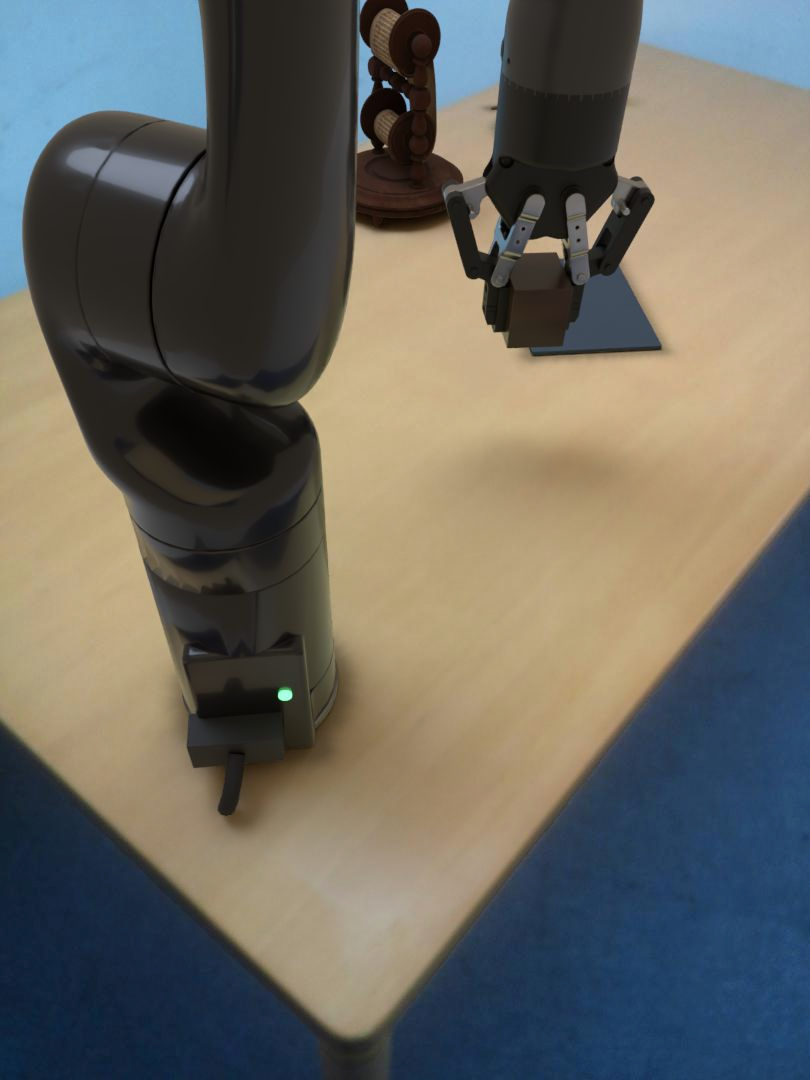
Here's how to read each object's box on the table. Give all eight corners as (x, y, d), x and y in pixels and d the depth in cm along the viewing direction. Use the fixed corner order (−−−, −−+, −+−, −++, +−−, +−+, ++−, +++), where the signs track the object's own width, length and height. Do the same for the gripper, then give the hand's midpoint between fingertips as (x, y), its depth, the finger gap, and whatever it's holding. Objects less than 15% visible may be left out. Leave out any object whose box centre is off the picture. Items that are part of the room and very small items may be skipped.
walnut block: (563, 346, 61) (573, 288, 58) (506, 348, 61) (514, 290, 57) (547, 308, 64) (556, 251, 61) (494, 310, 64) (500, 253, 61)
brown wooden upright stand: (486, 214, 96) (504, 10, 82) (365, 242, 92) (362, 31, 77) (423, 162, 105) (430, -30, 91) (310, 185, 100) (298, -14, 86)
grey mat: (661, 349, 79) (662, 345, 79) (531, 355, 78) (532, 352, 78) (613, 260, 90) (614, 256, 90) (499, 264, 89) (499, 260, 89)
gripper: (453, 90, 47) (437, 359, 59) (708, 88, 48) (639, 351, 60) (435, 45, 52) (423, 301, 64) (666, 43, 53) (611, 295, 66)
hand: (528, 324), depth 62 cm, fingers closed on walnut block, 4 cm apart
